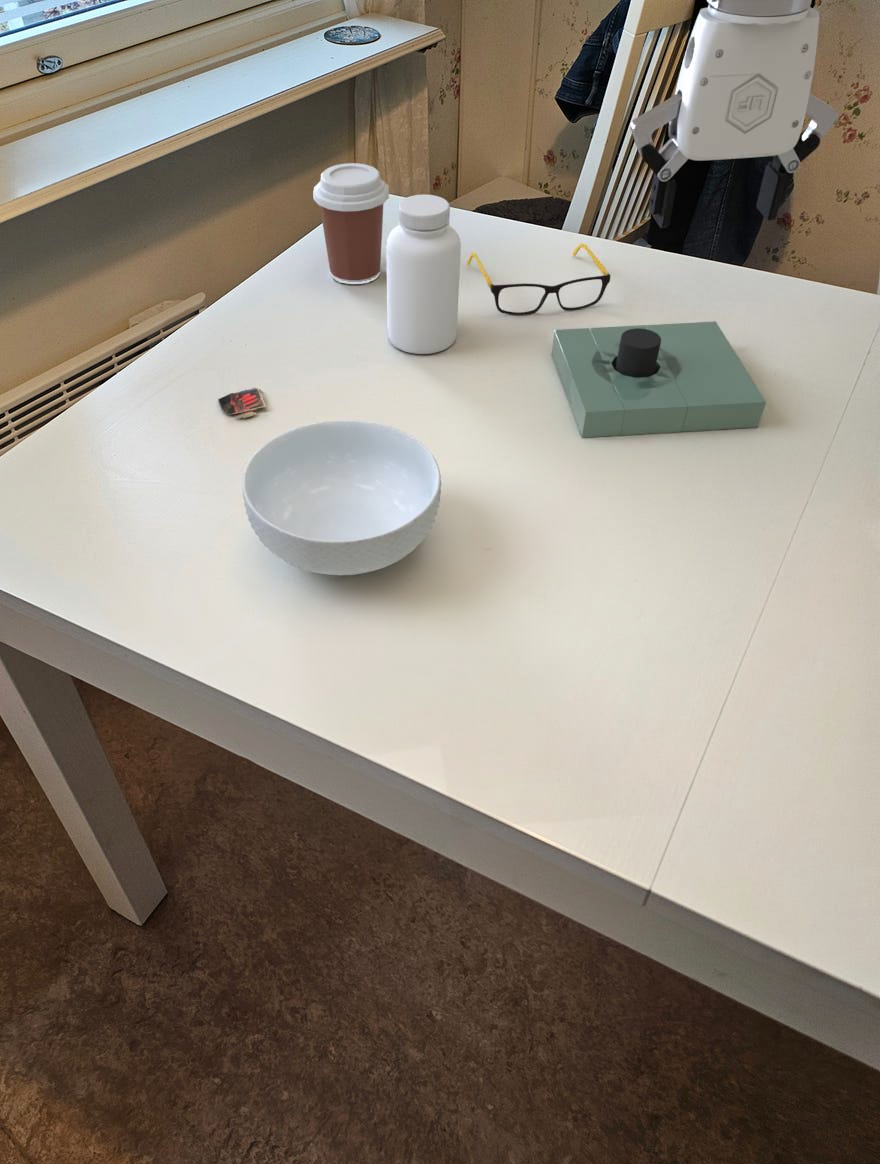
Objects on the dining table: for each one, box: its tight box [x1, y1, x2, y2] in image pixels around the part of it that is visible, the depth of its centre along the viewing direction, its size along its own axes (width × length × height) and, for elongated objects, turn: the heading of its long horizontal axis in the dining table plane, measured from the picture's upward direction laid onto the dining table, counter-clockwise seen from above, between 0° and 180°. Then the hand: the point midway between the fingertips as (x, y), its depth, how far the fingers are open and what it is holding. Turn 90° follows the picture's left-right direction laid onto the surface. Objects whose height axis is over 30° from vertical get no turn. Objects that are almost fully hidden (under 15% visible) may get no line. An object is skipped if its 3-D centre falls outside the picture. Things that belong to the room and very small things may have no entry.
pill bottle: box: [385, 194, 462, 355], centre depth 98 cm, size 8×8×15 cm
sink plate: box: [551, 321, 767, 439], centre depth 94 cm, size 18×16×3 cm
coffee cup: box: [312, 162, 390, 282], centre depth 110 cm, size 9×9×12 cm
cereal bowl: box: [241, 419, 442, 576], centre depth 77 cm, size 17×17×7 cm
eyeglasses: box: [466, 243, 611, 316], centre depth 110 cm, size 14×14×4 cm
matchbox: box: [217, 387, 266, 420], centre depth 94 cm, size 5×5×1 cm
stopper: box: [615, 328, 661, 378], centre depth 93 cm, size 4×4×6 cm
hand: (712, 218), depth 81 cm, fingers open, 9 cm apart
